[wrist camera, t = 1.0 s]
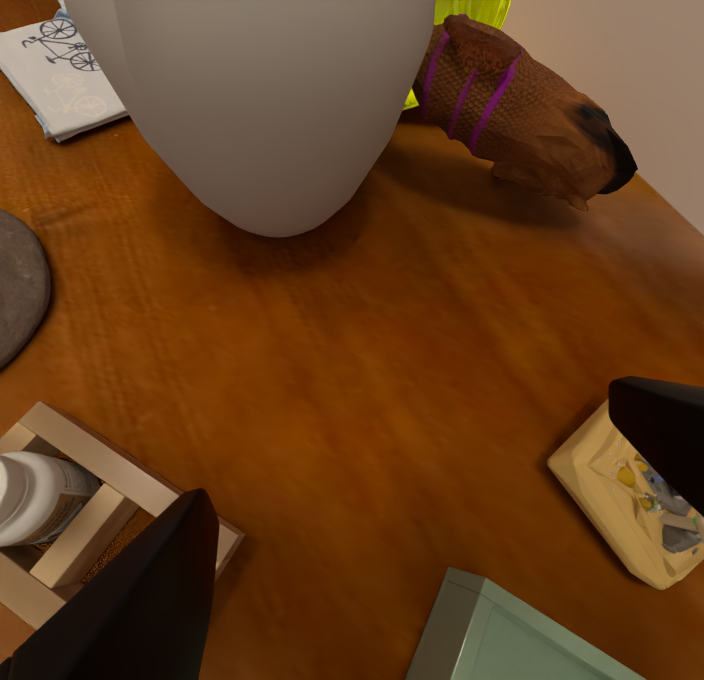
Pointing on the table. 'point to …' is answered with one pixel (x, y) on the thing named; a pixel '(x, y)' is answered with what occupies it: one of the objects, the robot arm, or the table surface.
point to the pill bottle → (40, 496)
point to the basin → (502, 639)
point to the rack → (82, 514)
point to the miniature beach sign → (629, 502)
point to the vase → (262, 94)
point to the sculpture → (20, 285)
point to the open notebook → (58, 77)
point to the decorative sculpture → (518, 114)
